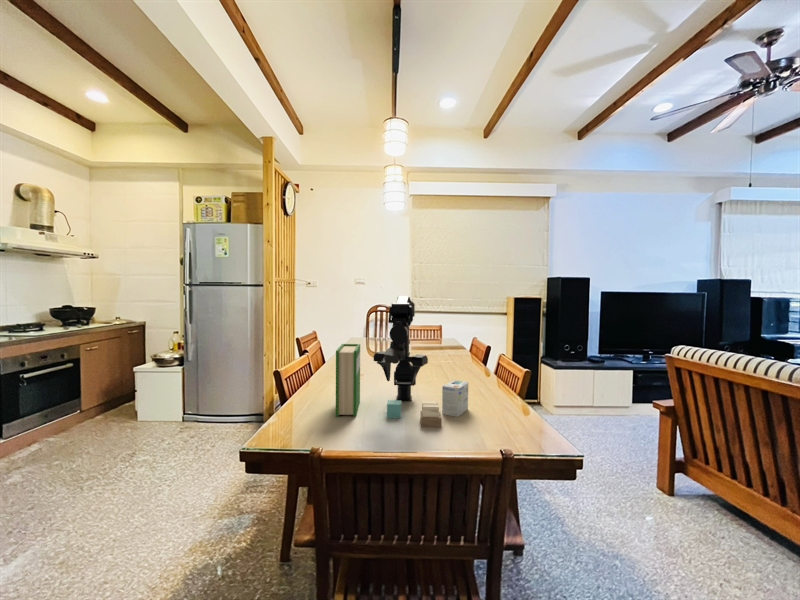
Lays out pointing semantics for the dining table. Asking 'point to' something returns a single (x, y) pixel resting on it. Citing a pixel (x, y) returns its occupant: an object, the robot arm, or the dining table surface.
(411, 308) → the robot arm
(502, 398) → the dining table surface
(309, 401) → the dining table surface
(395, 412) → the teal cube
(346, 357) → the hardback book
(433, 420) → the walnut slab
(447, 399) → the light bulb box
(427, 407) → the maple block
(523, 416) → the dining table surface
